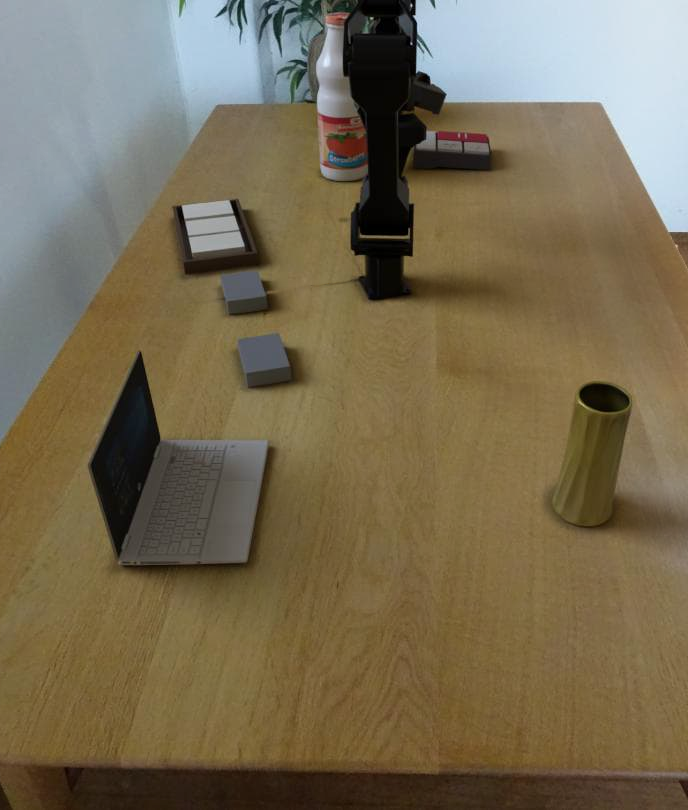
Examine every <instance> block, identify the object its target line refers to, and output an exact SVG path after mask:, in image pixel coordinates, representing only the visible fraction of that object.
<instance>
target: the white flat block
mask: <svg viewBox="0 0 688 810" xmlns="http://www.w3.org/2000/svg"><path fill="white" fill-rule="evenodd" d="M189 241H190V247H191V252H192V257H193V259H200V258H208V257H216V256H224V255H232V254H239V253H246V252H245V245H244V242H243V239H242V236H241V233H240V231H239V232H231V233H223V234H214V235H206V236H198V237H190V238H189Z"/></svg>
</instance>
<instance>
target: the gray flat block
mask: <svg viewBox="0 0 688 810" xmlns="http://www.w3.org/2000/svg"><path fill="white" fill-rule="evenodd" d="M281 338H282V337H281V335H280V332H275V333H270V334H263V335H255V336H249V337H243V338H237V339H236V343H237V349H238V355H239V360H240V363H241V366H242V371H243V375H244V379H245V382H246V383H245V384H246V387H247V388H253V387H260V386H266V385H271V384H278V383H283V382H289V381H292V371H291V365H290V362H289V358H288V356H287V353H286V350H285V347H284V344H283V341H282V339H281Z"/></svg>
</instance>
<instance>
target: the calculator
mask: <svg viewBox="0 0 688 810" xmlns="http://www.w3.org/2000/svg"><path fill="white" fill-rule="evenodd" d="M412 152H413V153H412V155H413V156H412V168H414V169H420V170H421V169H423V170H433V169H435V168H437V167H438V168H452V169H465V170H478V171H479V170H481V171H490V169H491V163H492V162H491V161H492V150H491V143H490V137H489V136H488V135H487V134H486V133H477V132H476V133H475V132H461V131H460V132H459V131H446V130H438V131H437V132H436V131H433V130H427V133H426V140H425V141H422V142H421V143H420V144H416V145H415V146H414V147H413V151H412Z"/></svg>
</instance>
